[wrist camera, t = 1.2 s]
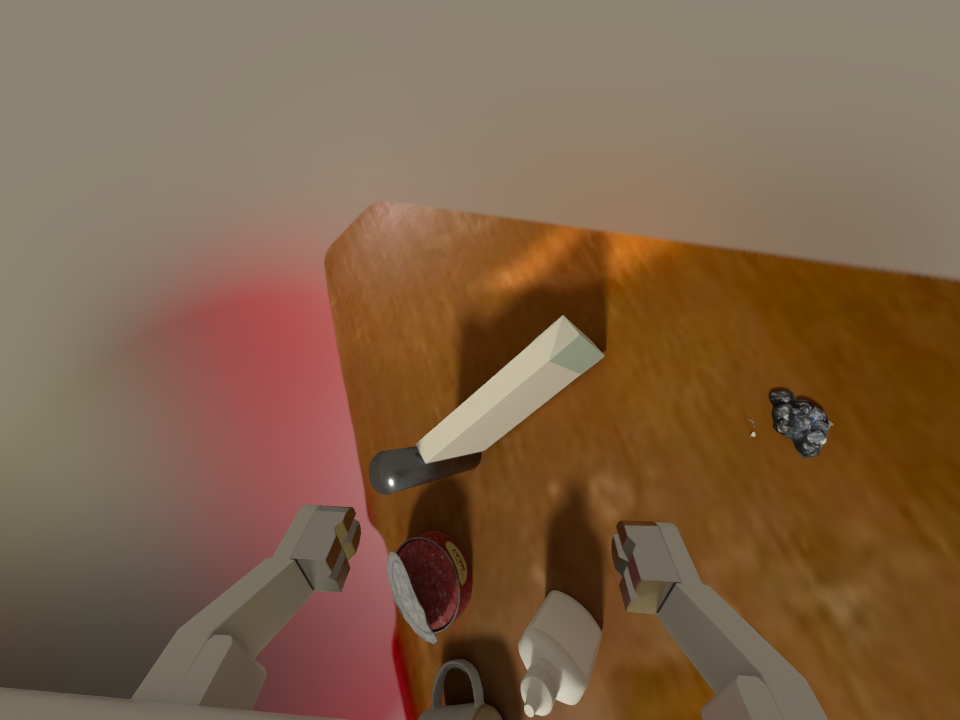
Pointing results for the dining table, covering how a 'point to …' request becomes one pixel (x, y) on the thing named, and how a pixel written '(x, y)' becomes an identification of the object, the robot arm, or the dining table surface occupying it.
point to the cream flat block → (513, 393)
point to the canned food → (430, 582)
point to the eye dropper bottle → (557, 653)
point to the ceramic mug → (469, 716)
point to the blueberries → (799, 423)
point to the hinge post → (413, 469)
